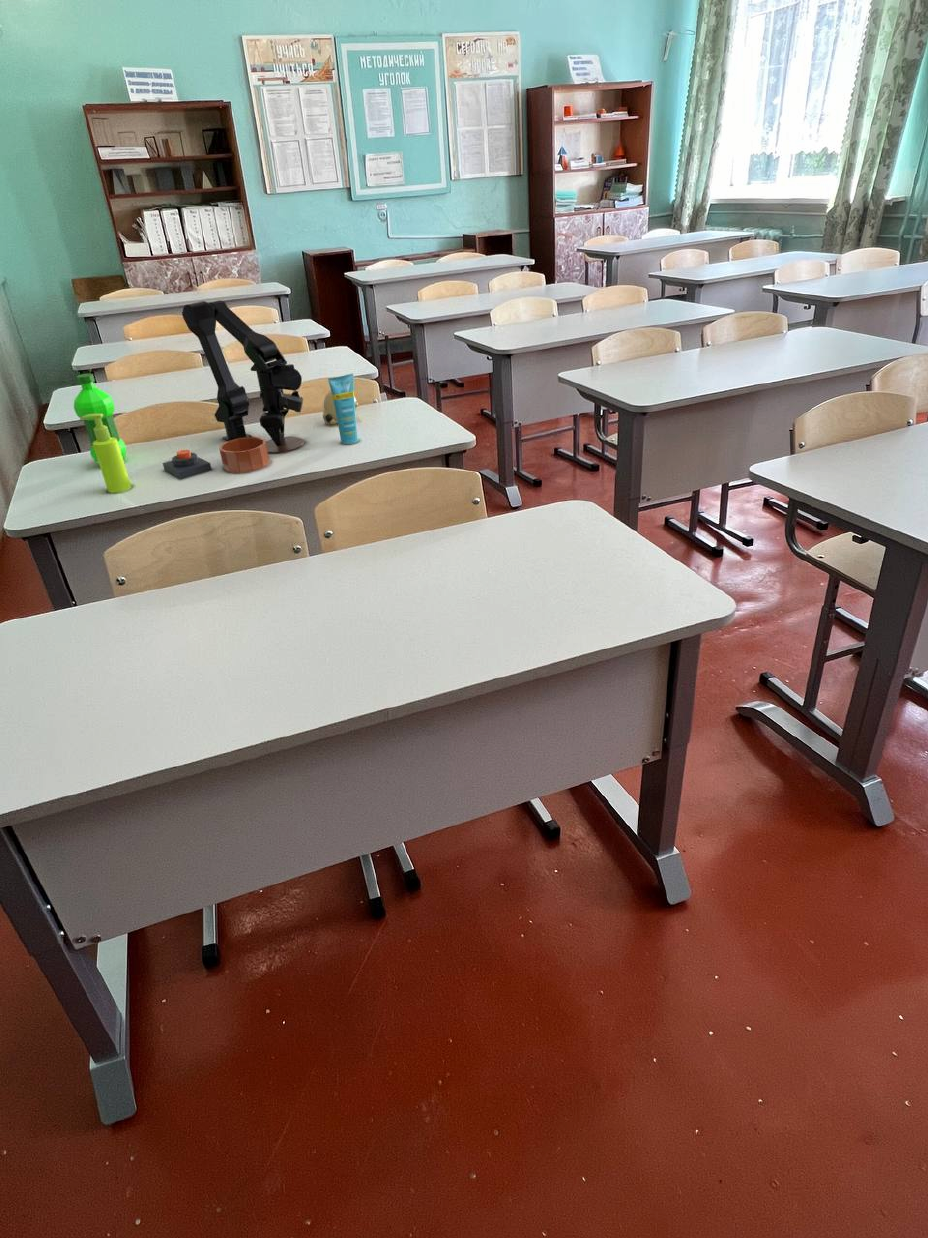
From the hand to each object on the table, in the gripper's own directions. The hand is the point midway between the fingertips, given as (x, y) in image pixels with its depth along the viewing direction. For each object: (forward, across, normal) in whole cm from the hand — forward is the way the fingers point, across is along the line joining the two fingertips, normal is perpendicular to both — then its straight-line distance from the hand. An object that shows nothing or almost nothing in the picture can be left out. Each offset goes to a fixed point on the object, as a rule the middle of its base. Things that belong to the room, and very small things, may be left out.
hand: (280, 440), depth 223 cm
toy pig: (+2, +19, -17) cm, 26 cm away
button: (-2, -14, +24) cm, 28 cm away
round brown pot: (+2, -15, +8) cm, 17 cm away
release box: (+2, -14, +24) cm, 28 cm away
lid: (+2, 0, 0) cm, 2 cm away
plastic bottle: (+2, -2, +49) cm, 49 cm away
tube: (+2, -2, -20) cm, 21 cm away
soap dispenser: (+2, -24, +41) cm, 47 cm away
